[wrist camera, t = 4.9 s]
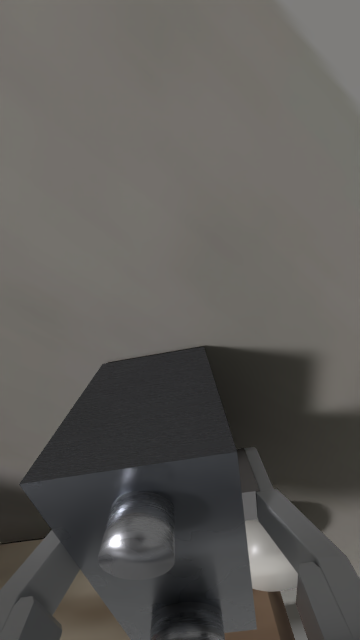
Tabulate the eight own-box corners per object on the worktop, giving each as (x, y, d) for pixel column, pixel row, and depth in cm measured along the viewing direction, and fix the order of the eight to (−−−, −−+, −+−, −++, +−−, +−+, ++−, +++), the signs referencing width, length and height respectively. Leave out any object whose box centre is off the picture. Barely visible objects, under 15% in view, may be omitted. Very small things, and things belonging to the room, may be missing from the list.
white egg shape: (226, 502, 13) (237, 557, 11) (297, 493, 13) (324, 546, 10) (232, 540, 15) (243, 595, 12) (295, 532, 14) (318, 586, 12)
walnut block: (210, 559, 15) (222, 658, 12) (254, 545, 15) (281, 644, 11) (230, 579, 17) (247, 674, 13) (272, 566, 16) (302, 662, 12)
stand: (0, 544, 14) (-103, 711, 9) (154, 524, 13) (140, 688, 8) (48, 597, 17) (-8, 746, 12) (176, 582, 16) (176, 731, 11)
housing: (102, 363, 9) (-27, 551, 3) (203, 346, 9) (255, 512, 3) (150, 492, 12) (127, 700, 6) (224, 481, 12) (269, 686, 6)
